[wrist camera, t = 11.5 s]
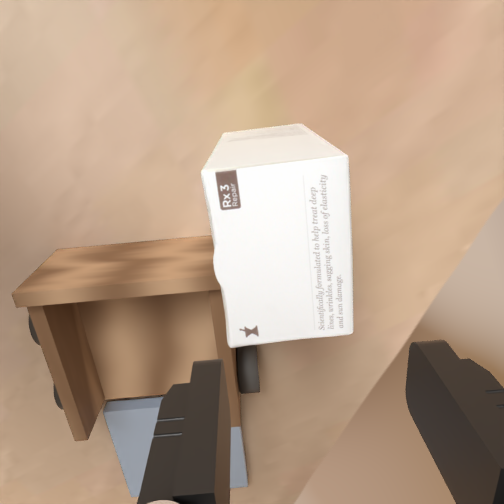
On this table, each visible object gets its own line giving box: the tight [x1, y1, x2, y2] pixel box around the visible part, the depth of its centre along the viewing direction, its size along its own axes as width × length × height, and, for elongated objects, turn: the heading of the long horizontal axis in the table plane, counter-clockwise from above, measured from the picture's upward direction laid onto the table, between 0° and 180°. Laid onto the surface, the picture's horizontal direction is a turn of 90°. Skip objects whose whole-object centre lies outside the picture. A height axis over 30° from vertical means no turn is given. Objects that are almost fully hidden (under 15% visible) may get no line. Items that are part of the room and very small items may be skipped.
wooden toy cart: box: [12, 236, 260, 441], centre depth 31 cm, size 16×14×7 cm
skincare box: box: [201, 123, 353, 348], centre depth 23 cm, size 8×6×15 cm
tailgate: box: [103, 397, 248, 497], centre depth 39 cm, size 12×1×12 cm
